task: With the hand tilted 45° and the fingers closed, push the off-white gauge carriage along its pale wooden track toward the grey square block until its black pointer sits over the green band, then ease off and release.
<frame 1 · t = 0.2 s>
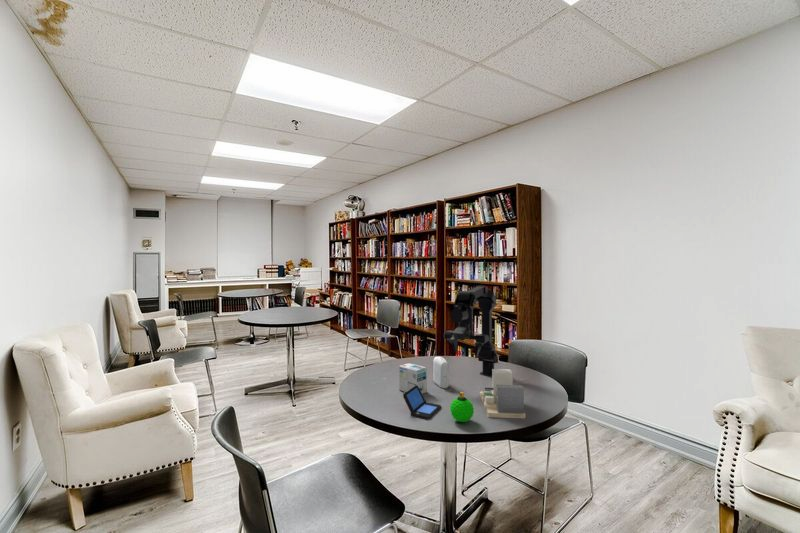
hand: (465, 356, 154), 15 cm above the table, tool pointing down, fingers open, 9 cm apart
ornament: (462, 421, 124), on the table
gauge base: (504, 405, 138), on the table
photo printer: (440, 385, 162), on the table
light bulb box: (412, 391, 154), on the table
gauge carriage: (498, 384, 142), point 7 cm above the table, slide at 0.0 cm
handheld game console: (422, 411, 134), on the table
grey square block: (509, 398, 129), point 6 cm above the table
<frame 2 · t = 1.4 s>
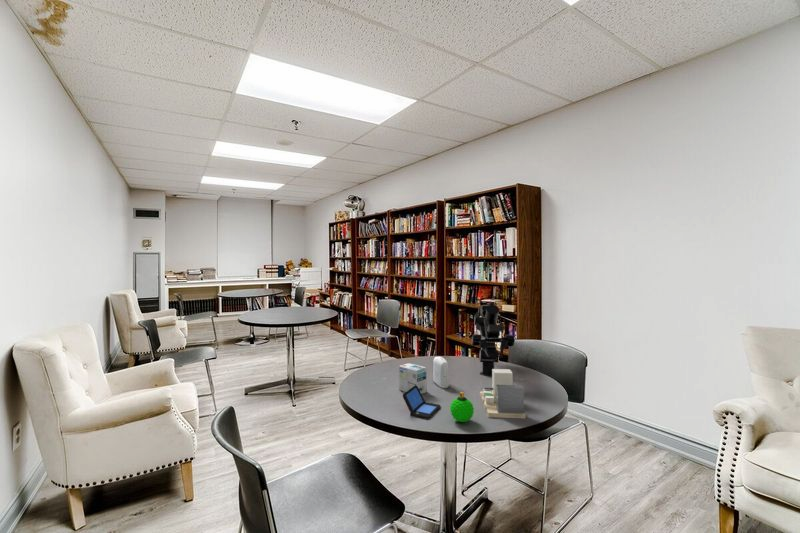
hand: (495, 356, 158), 14 cm above the table, tool tilted 45°, fingers open, 5 cm apart
nothing on the table moved.
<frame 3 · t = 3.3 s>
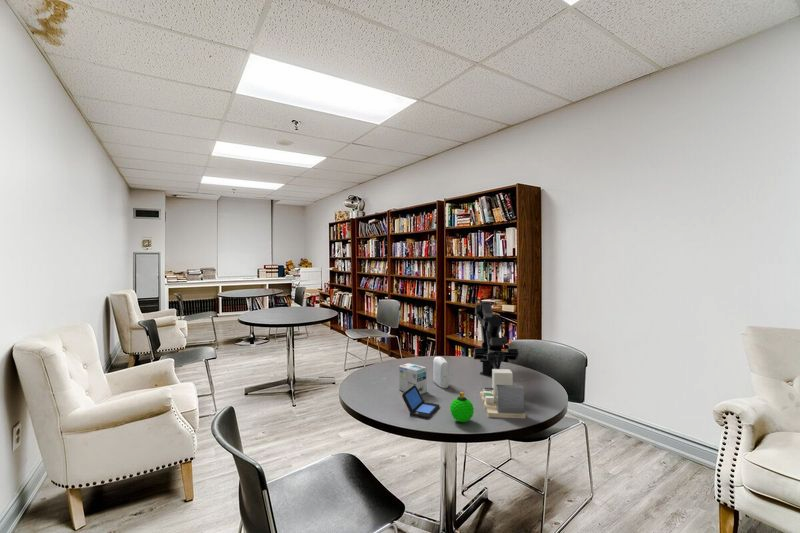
hand: (498, 371, 151), 9 cm above the table, tool tilted 45°, fingers closed
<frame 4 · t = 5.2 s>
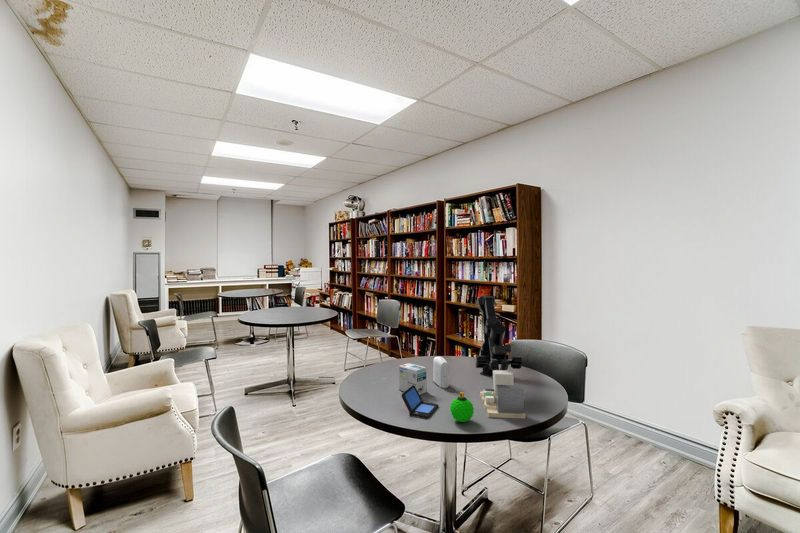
hand: (501, 381, 144), 7 cm above the table, tool tilted 45°, fingers closed, pressing on gauge carriage
gauge carriage: (499, 385, 140), point 7 cm above the table, slide at 1.5 cm, touching gripper
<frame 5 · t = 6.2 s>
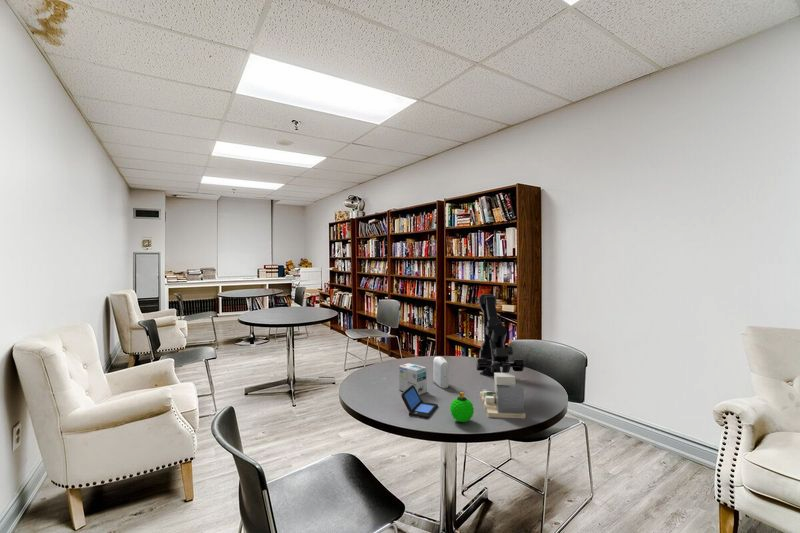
hand: (503, 384, 141), 7 cm above the table, tool tilted 45°, fingers closed, pressing on gauge carriage
gauge carriage: (500, 388, 137), point 7 cm above the table, slide at 4.7 cm, touching gripper
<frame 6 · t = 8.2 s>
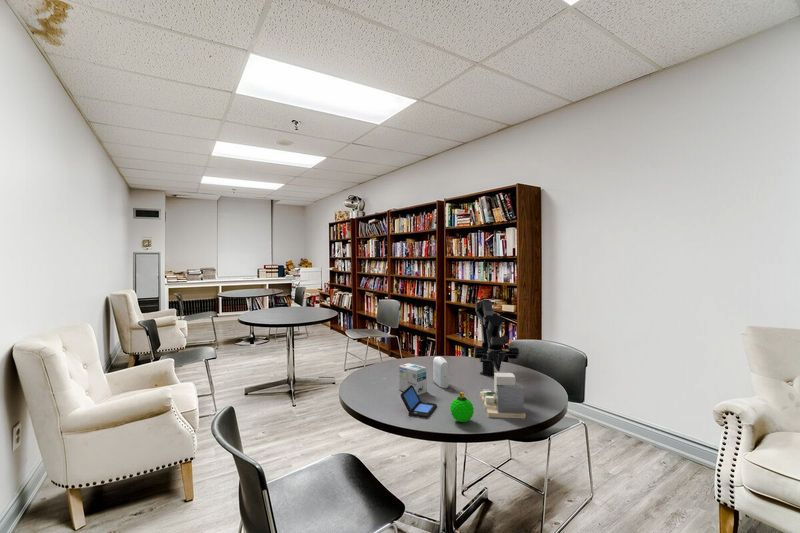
hand: (498, 370, 150), 10 cm above the table, tool tilted 45°, fingers closed
gauge carriage: (500, 388, 137), point 7 cm above the table, slide at 4.7 cm
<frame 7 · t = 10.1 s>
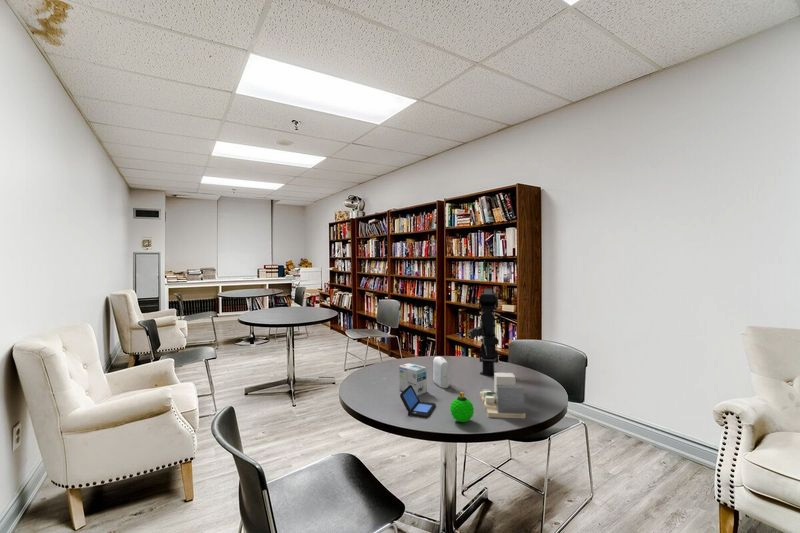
hand: (488, 356, 160), 13 cm above the table, tool pointing down, fingers closed
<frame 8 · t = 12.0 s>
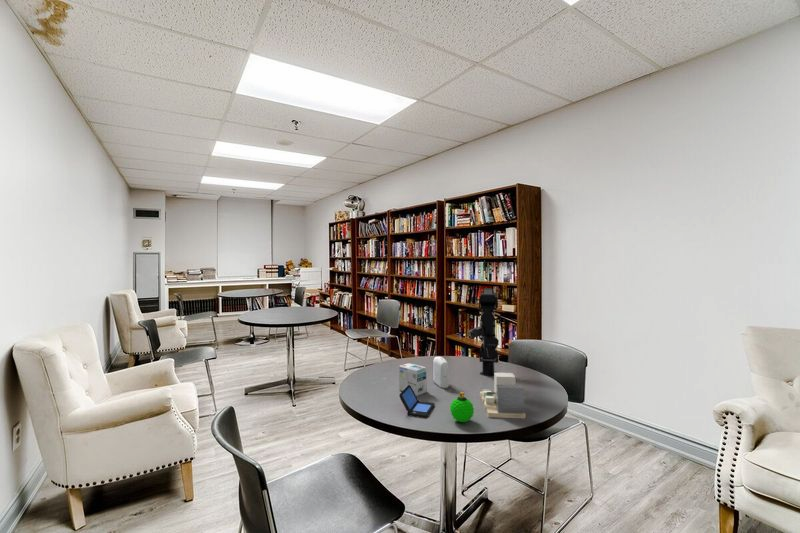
hand: (487, 356, 160), 13 cm above the table, tool pointing down, fingers open, 9 cm apart
at the end: gauge carriage slide at 4.7 cm; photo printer moved 0.3 cm from its start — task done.
